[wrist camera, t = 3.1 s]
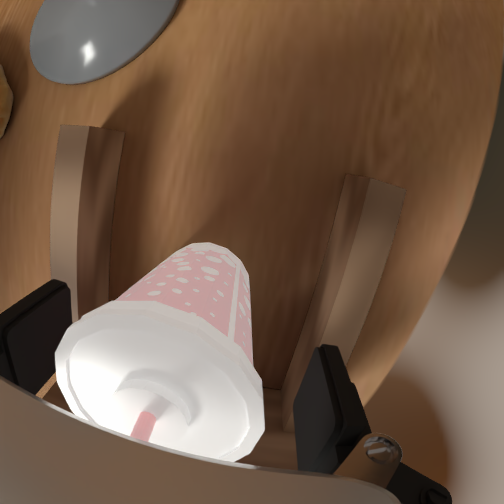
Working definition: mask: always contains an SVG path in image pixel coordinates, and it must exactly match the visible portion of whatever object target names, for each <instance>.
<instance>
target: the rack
mask: <svg viewBox="0 0 504 504" xmlns="http://www.w3.org/2000/svg"><path fill="white" fill-rule="evenodd" d="M124 135H125V132H123V131H117V130H111V129H105V128H99V127H92V126H78V125H61V126H60V132H59V138H58V144H57V151H56V158H55V167H54V176H53V186H52V200H51V220H50V267H51V280H52V279H57V280H60V281H63V282H66V283H67V285H68V287H69V288H70V291H71V309H72V322H73V323H75V322H77V321H79V320H80V319H81V318H82V316H83V315H85V314H87V313H89V312H91V311H93V310H95V309H97V308H98V307H100V306H102V305H104V304H106V303H108V302H109V266H110V247H111V233H112V221H113V211H114V202H115V193H116V185H117V178H118V171H119V164H120V158H121V152H122V146H123V141H124ZM405 194H406V189H403V188H400V187H397V186H394V185H391V184H388V183H385V182H382V181H379V180H376V179H373V178H368V177H362V176H356V175H350V174H346V176H345V180H344V184H343V188H342V192H341V196H340V200H339V204H338V208H337V212H336V216H335V220H334V224H333V228H332V231H331V235H330V239H329V242H328V246H327V250H326V253H325V257H324V260H323V264H322V267H321V270H320V274H319V277H318V281H317V284H316V287H315V290H314V294H313V297H312V300H311V303H310V307H309V310H308V313H307V316H306V319H305V322H304V325H303V328H302V331H301V334H300V337H299V340H298V343H297V346H296V349H295V352H294V355H293V358H292V360H291V363H290V366H289V369H288V372H287V374H286V377H285V380H284V383H283V385H282V388H281V390H275V389H269V388H263V387H262V390H263V404H264V419H265V431H264V432H263V434H262V436H261V437H260V439H259V440H258V442H257V443H256V445H255V447H254V448H253V450H252V451H251V453H250V454H248V455H246V456H244V457H242V458H241V459H239V460H237V461H235V462H236V463H242V464H249V465H255V466H262V467H270V468H279V469H289V470H298V464H297V452H296V440H295V428H294V417H293V403H294V399H295V397H296V395H297V392H298V390H299V387H300V385H301V382H302V380H303V377H304V375H305V372H306V370H307V367H308V365H309V362H310V359H311V357H312V354H313V351H314V349H315V348H316V347H320V346H321V344H328V345H335V346H338V348H339V350H340V353H341V356H342V359H343V361H344V364H345V367H346V365H347V362H348V360H349V358H350V356H351V353H352V351H353V349H354V346H355V344H356V342H357V339H358V337H359V334H360V332H361V330H362V327H363V325H364V322H365V320H366V317H367V314H368V312H369V309H370V307H371V304H372V301H373V299H374V296H375V293H376V290H377V287H378V285H379V282H380V279H381V276H382V273H383V270H384V267H385V264H386V261H387V258H388V255H389V252H390V248H391V245H392V242H393V238H394V235H395V232H396V228H397V225H398V221H399V217H400V214H401V210H402V206H403V202H404V198H405ZM42 399H43V400H45V401H47V402H49V403H51V404H53V405H55V406H57V407H59V408H61V409H63V410H66V411H68V412H70V413H72V414H74V413H73V412H72V410H71V409H70V407H69V405H68V403H67V401H66V399H65V397H64V395H63V393H62V391H61V389H60V387H59V385H58V383H57V381H56V382H55V383H54V385H53V386H52V387H51V388H50V390H49V391H48V392H47V393H46V395H45V396H44V397H43V398H42ZM74 415H75V414H74Z"/></svg>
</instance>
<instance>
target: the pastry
mask: <svg viewBox="0 0 504 504" xmlns="http://www.w3.org/2000/svg"><path fill="white" fill-rule="evenodd" d="M12 103H13V92H12V90H11V89H10V86H9V85H8V83H7V80H6V77H5V72H4V68H3V66H2V65H0V139H1V137H2V136H3V135H4V130H5V128H6V125H7V123H8V120H9V117H10V113H11V108H12Z"/></svg>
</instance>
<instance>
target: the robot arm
mask: <svg viewBox="0 0 504 504" xmlns="http://www.w3.org/2000/svg"><path fill="white" fill-rule="evenodd" d="M72 324H73V322H72V309H71V291H70V288H69V287H68V285H67V283H66V282H63V281H60V280H57V279H52V280H50V281H49V282H47V283H46V284H44V285H43V286H41V287H40V288H38V289H36V290H35V291H33V292H32V293H30V294H29V295H27V296H26V297H24V298H23V299H21V300H20V301H18V302H17V303H16V304H14V305H13V306H11V307H10V308H8V309H7V310H5V311H4V312H3V313H1V314H0V504H452V498H451V495H450V493H449V492H448V490H447V489H446V488H445V487H443V486H442V485H441V484H438V483H437V482H435V481H433V480H431V479H429V478H428V477H426V476H424V475H422V474H420V473H419V472H417V471H415V470H413V469H412V468H410V467H408V466H407V465H405V464H403V463H401V459H402V449H401V447H400V445H399V444H398V443H397V442H396V441H395V440H394V439H393V438H391V437H389V436H387V435H384V434H380V433H372V432H371V429H370V426H369V424H368V421H367V418H366V415H365V412H364V409H363V406H362V403H361V400H360V398H359V395H358V392H357V389H356V386H355V385H354V383H352V382H351V381H350V378H349V375H348V373H347V370H346V367H345V364H344V361H343V359H342V356H341V353H340V350H339V348H338V346H335V345H328V344H321V346H320V347H316V348H315V349H314V351H313V354H312V357H311V359H310V362H309V365H308V367H307V370H306V372H305V375H304V377H303V380H302V382H301V385H300V387H299V390H298V392H297V395H296V397H295V399H294V403H293V417H294V428H295V440H296V452H297V464H298V470H289V469H279V468H270V467H262V466H255V465H249V464H242V463H236V462H230V461H224V460H219V459H214V458H209V457H204V456H199V455H195V454H191V453H187V452H182V451H179V450H175V449H171V448H167V447H164V446H160V445H157V444H153V443H150V442H147V441H143V440H140V439H137V438H134V437H131V436H128V435H125V434H122V433H119V432H117V431H114V430H111V429H109V428H106V427H103V426H101V425H98V424H96V423H93V422H91V421H88V420H86V419H84V418H81V417H79V416H77V415H74V414H72V413H70V412H68V411H66V410H63V409H61V408H59V407H57V406H55V405H53V404H51V403H49V402H47V401H45V400H43V399H41V398H39V397H37V396H35V395H36V394H37V393H38V391H39V390H40V389H41V388H42V387H43V386H44V384H45V383H46V382H47V381H48V380H49V379H50V377H51V376H52V375H53V374H54V373H55V372H56V365H55V352H56V350H57V348H58V346H59V344H60V342H61V340H62V338H63V336H64V334H65V332H66V330H67V329H68V328H69V327H70V326H71V325H72Z"/></svg>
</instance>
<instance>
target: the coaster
mask: <svg viewBox="0 0 504 504" xmlns="http://www.w3.org/2000/svg"><path fill="white" fill-rule="evenodd" d="M178 4H179V0H45V1H44V2H43V4H42V6H41V7H40V9H39V11H38V14H37V16H36V18H35V21H34V24H33V27H32V31H31V36H30V54H31V59H32V62H33V64H34V66H35V68H36V69H37V71H38V72H39V73H40V74H41V75H42V76H44V77H45V78H47V79H49V80H51V81H54V82H57V83H62V84H66V85H78V84H85V83H89V82H93V81H96V80H99V79H101V78H104V77H106V76H108V75H110V74H112V73H114V72H116V71H118V70H119V69H121V68H123V67H124V66H126V65H127V64H128V63H130V62H131V61H133V60H134V59H135V58H137V57H138V56H139V55H140V54H141V53H143V52H144V51H145V50H146V49H147V48H148V47H149V46H150V45H151V44H152V43H153V42H154V41H155V40H156V39H157V37H158V36H159V35H160V34H161V33H162V31H163V30H164V29H165V27H166V26H167V25H168V23H169V22H170V20H171V18H172V16H173V15H174V13H175V11H176V8H177V6H178Z"/></svg>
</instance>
